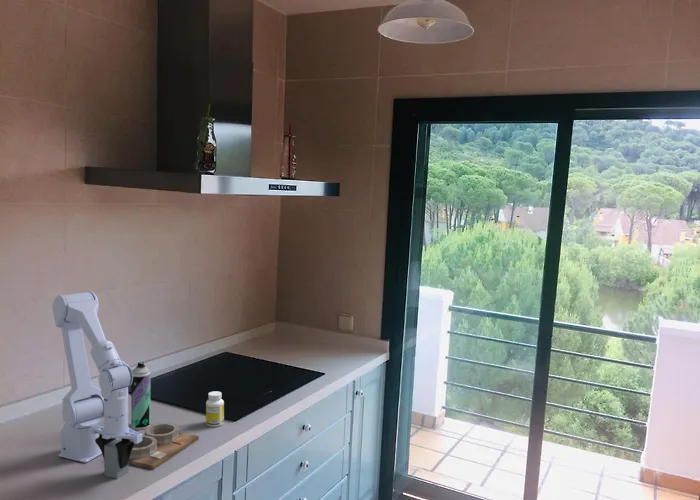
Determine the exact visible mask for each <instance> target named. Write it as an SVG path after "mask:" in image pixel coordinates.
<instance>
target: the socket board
mask: <svg viewBox="0 0 700 500" xmlns="http://www.w3.org/2000/svg"><path fill="white" fill-rule="evenodd" d="M199 439H200V437H199V435H195V434H189V433H186V432H180V431H179V426H177V425H176V424H175V423H172V422H159V423H154V424H150V426H149V427H147V428H146V429H144V435H143V434H142V441H141V442H139V443H138V444H135V445H134V447H133V449H132V451H131V454H130V457H129V461H128V465H131V466H132V465H133V466H137V467H140V468H141V467H142V468H143V469H144V468H146V469H150V470H155V469H157V468H158V467H160V466H161V465H163V464H164V463H166V462H168V461H169V460H170V459H171V458H174V457H175V456H176V455H178V454H179V453H181V452H183V451H184V450H185V449H187V448H188V447H189V446H192V445H193V444H194V443H195V442H197V441H198V440H199Z"/></svg>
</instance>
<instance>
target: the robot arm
mask: <svg viewBox="0 0 700 500" xmlns="http://www.w3.org/2000/svg"><path fill="white" fill-rule="evenodd" d="M52 313H53V318H54V323H55V327H57V328H60V329H61V334H62V340H63V346H64V352H65V359H66V364H67V369H68V375H69V380H70V385H71V386H70V390H69V391H68V392H67V393H66V394H65V395H64V397H63V398H62V402H61V403H62V410H61V413H62V414H61V416H62V419H63V421H64V424H63V426H62V428H61V432H60V445H61V446H60V452H61V453H59V454H58V457H61V458H65V459H69V460H73V461H77V462H81V463H89V462H90V461H92V460H93V459H95V458H97V457H99V456H101V455H102V457H103V459H104V445H106V444H108V443H110V442H112V441H114V440H115V439H118V440H121V441H120V442H118V443H116V444H115V446H116V448H117V451H118V455H119V466H120V468H124V467H125V466H127V465H128V466H129V464H128V461H129V457H130V454H131V451H132V449H133V447H134V445H135V444H138V443H139V442H141V441H142V435H143V433H141V432H138V431H137V430H134V429H132V427H129V387H131V384H132V382H133V374H132V370H133V369H132V368H131V367H130V365H129V364H128V363H126V362H125V361H124V360H121V358H120V356H119V354H118V351H117V349H116V347H115V345H114V343H113V342H112V341H110V340H107V339H106V336H105V333H104V330H103V328H102V325H101V322H100V319H99V317H98V313H99V299H98V296H97V295H96V293H95V292H94V291H93V290H89V291H85V292H77V293H71V294H69V293H68V294H57V295H56V296H55V297H54V300H53V304H52ZM84 335H85V336H86V338H87V340H88V341H89V343H90V345H91V346H92V347H91V349H90V351H89V353H90V356H91V358H92V359H93V362H94V363H95V367H96V369H97V371H98V373H99V376H98V385H99V387H100V388H99V387H97V386H95V385H93V383H92V378H91V373H90V372H91V371H90V367H89V362H88V360H89V359H88V355H87V350H86V344H85V338H84ZM89 396H90V397H89ZM82 398H83V399H82ZM102 421H103V424H100V423H101V422H102Z"/></svg>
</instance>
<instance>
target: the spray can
mask: <svg viewBox="0 0 700 500" xmlns="http://www.w3.org/2000/svg"><path fill="white" fill-rule="evenodd" d="M131 370H132V374H133V382H132V384H131V385H130V390H131V391H130V392H131V393H130V395H131V397H130V400H131V401H130V402H131V405H130V408H131V409H130V410H131V411H130V413H131V419H130V420H131V421H130V423H131V424H130V425H131V429H133V430H134V431H143V430H144V431H145V429H146V428H147V427H149V426H151V369H150V368H148V367H147V366H146V365H145V362H143V361H139V362H137V366H135V368H134V369H131Z"/></svg>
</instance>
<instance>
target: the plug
mask: <svg viewBox="0 0 700 500" xmlns="http://www.w3.org/2000/svg"><path fill="white" fill-rule="evenodd" d="M120 441H121V439H118V438H116V439H115V440H114V441H112V442H110V443H108V444H106V445H104V458H103V460H104V463H103V464H104V467H103V468H104V476H105V477H108V478H112V479H115V480H118V479H120V478H121V477H123V476H125V475H126V474H127V473H129V464H128V465H127V466H125V467H124V468H120V466H119V455H118V451H117V448H116V446H115V444H116V443H118V442H120Z"/></svg>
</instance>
